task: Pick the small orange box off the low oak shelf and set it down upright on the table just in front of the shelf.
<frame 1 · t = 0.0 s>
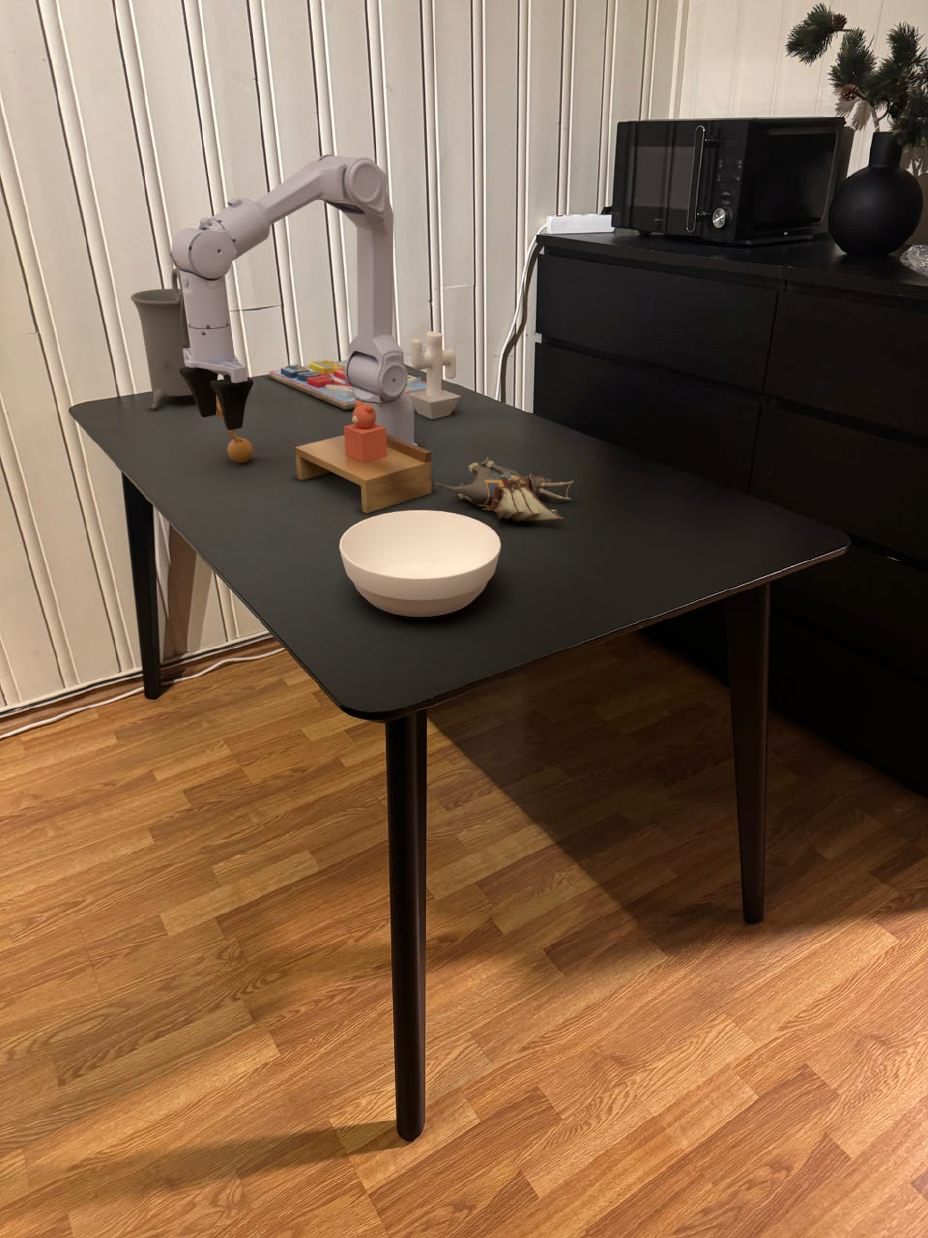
hand: (221, 422, 125), 10 cm above the table, tool pointing down, fingers open, 7 cm apart
mug: (185, 401, 169), on the table
puzzle board: (353, 386, 181), on the table
bowl: (420, 599, 102), on the table
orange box: (366, 455, 129), point 5 cm above the table, touching shelf
figurine: (235, 464, 140), on the table
figurine 2: (511, 514, 124), on the table
figurine 3: (433, 415, 164), on the table
shelf: (363, 485, 132), on the table
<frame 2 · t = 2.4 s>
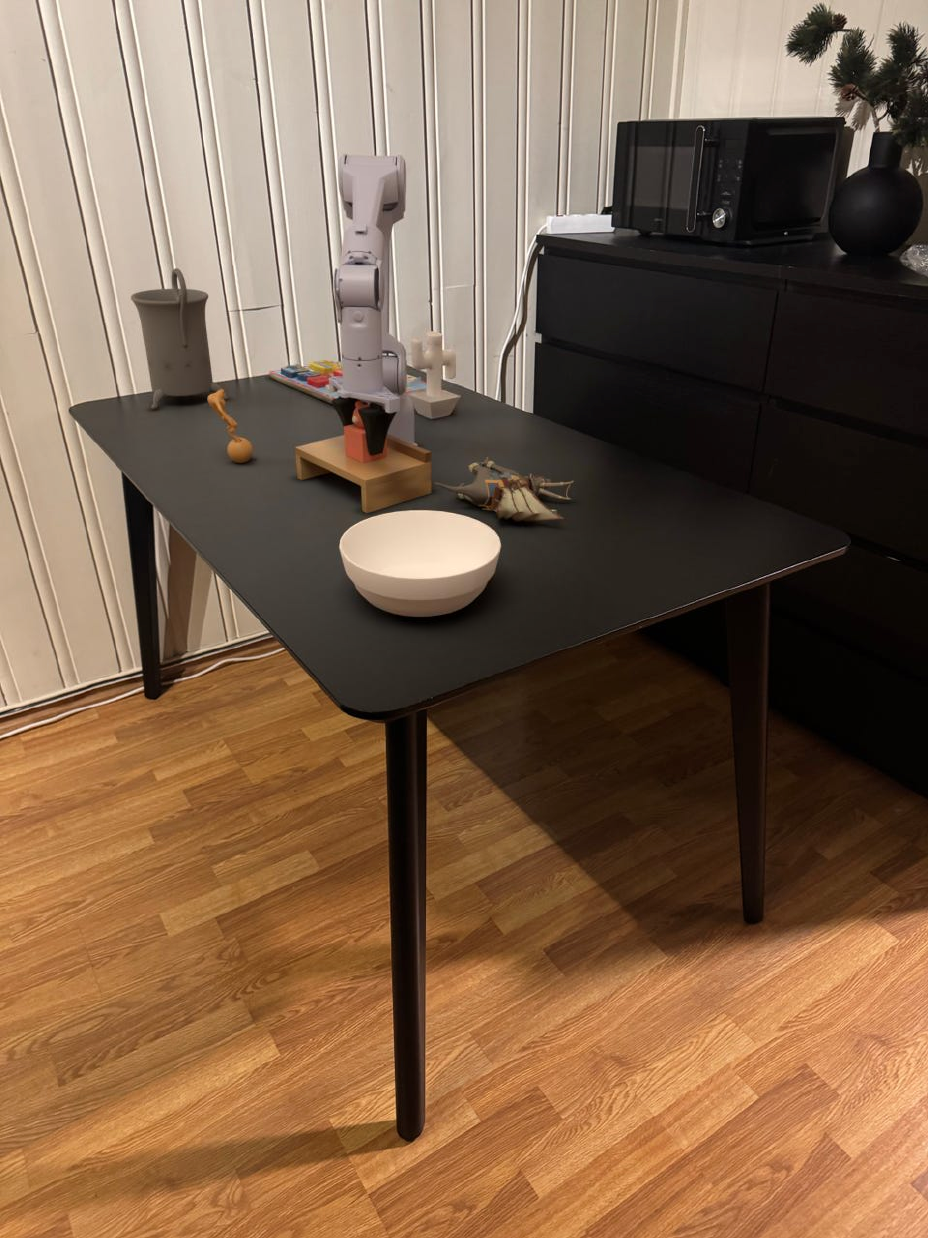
hand: (365, 449, 128), 6 cm above the table, tool pointing down, fingers closed on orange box, 4 cm apart
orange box: (366, 455, 129), point 5 cm above the table, touching gripper, shelf
everything else where it was.
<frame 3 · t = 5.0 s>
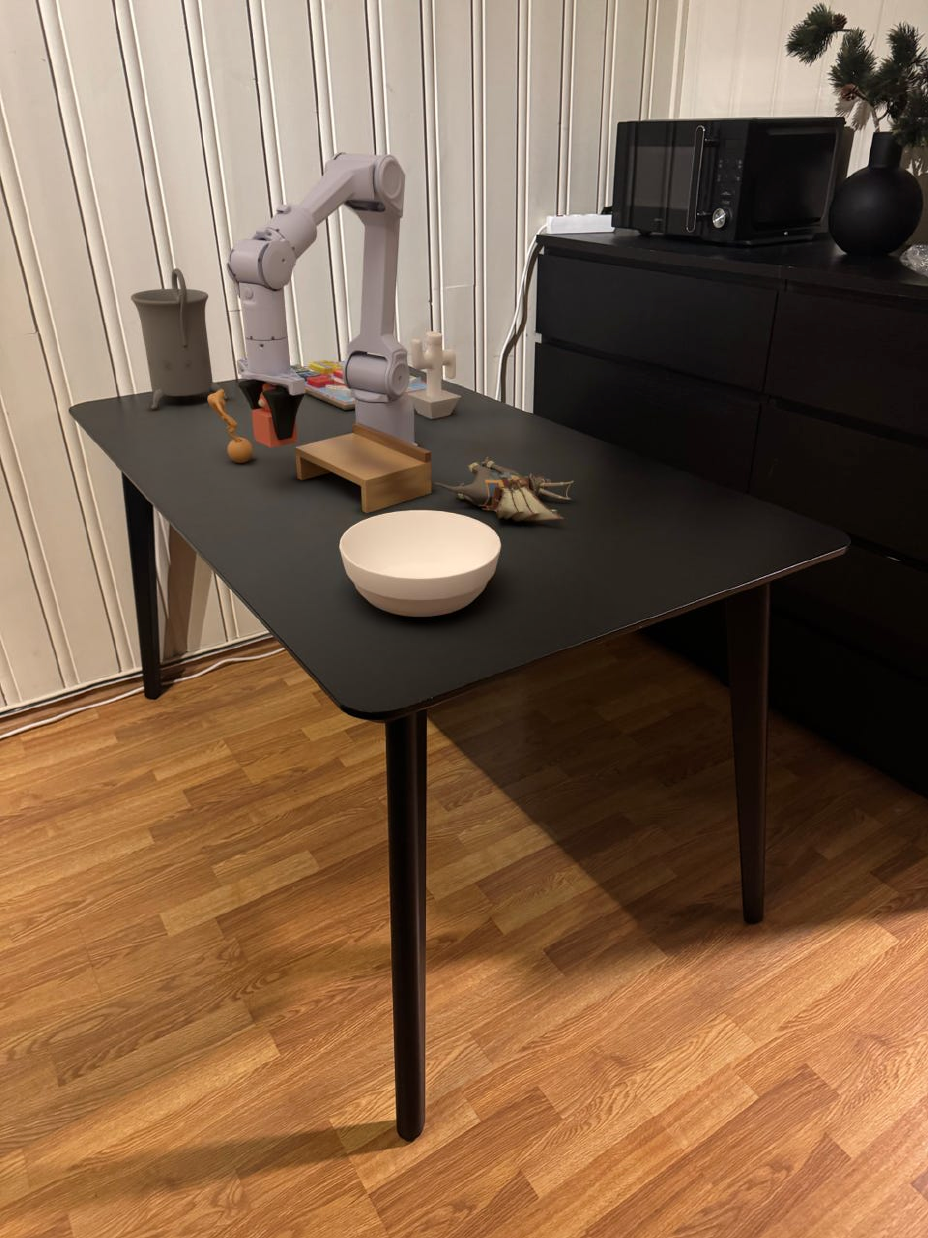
hand: (275, 434, 124), 9 cm above the table, tool pointing down, fingers closed on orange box, 4 cm apart
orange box: (276, 440, 124), point 8 cm above the table, touching gripper
everything else where it was.
when the fingers open (1 cm above the table, at t = 7.4 s): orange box stays where it is, on the table.
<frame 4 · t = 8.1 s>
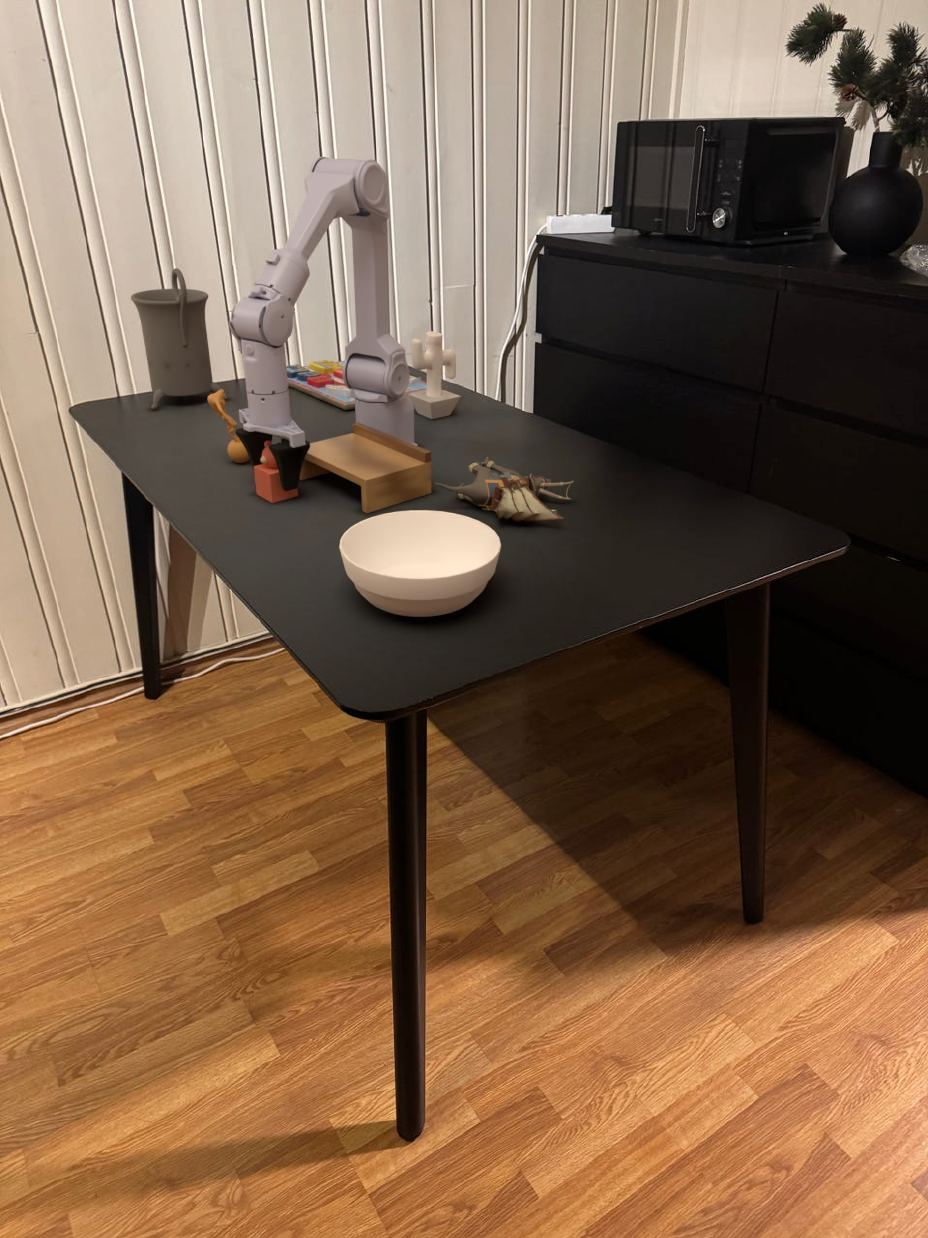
hand: (276, 481, 127), 2 cm above the table, tool pointing down, fingers open, 7 cm apart
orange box: (277, 495, 128), on the table
everything else where it was.
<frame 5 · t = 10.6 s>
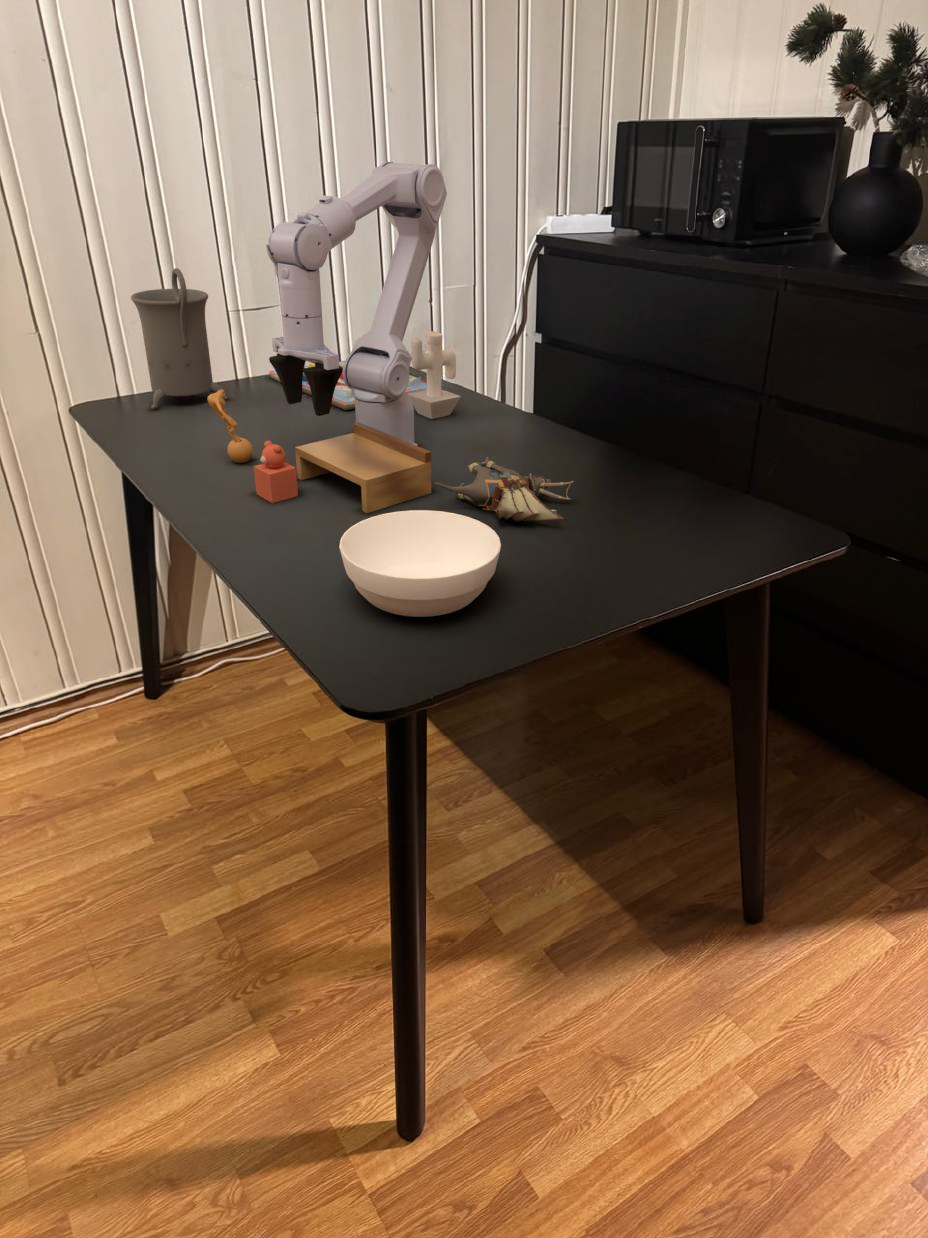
hand: (308, 408, 131), 10 cm above the table, tool pointing down, fingers open, 7 cm apart
nothing on the table moved.
at the end: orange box inside the target area (0.1 cm from its centre), on the table; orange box tilted 0°; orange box touching table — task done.
